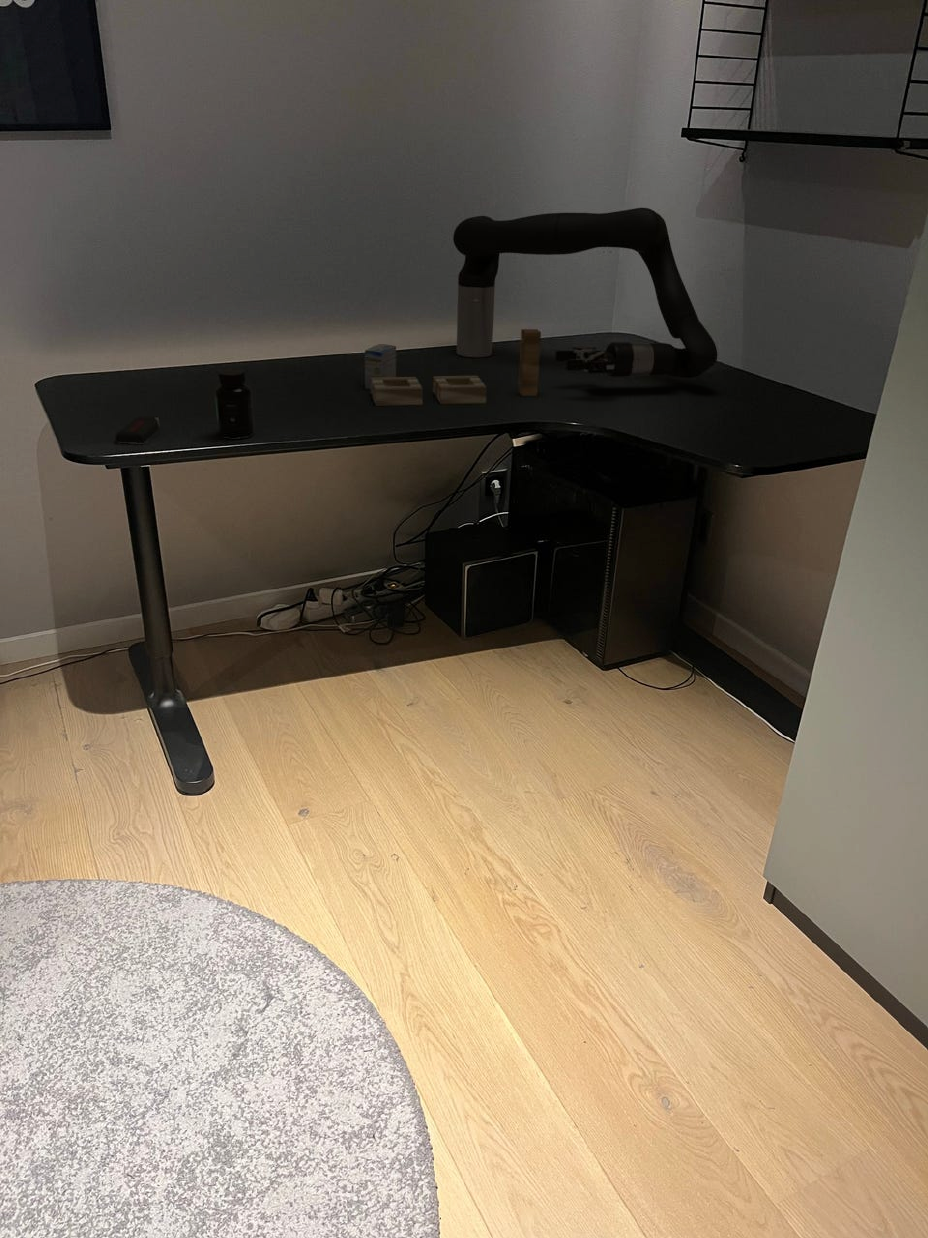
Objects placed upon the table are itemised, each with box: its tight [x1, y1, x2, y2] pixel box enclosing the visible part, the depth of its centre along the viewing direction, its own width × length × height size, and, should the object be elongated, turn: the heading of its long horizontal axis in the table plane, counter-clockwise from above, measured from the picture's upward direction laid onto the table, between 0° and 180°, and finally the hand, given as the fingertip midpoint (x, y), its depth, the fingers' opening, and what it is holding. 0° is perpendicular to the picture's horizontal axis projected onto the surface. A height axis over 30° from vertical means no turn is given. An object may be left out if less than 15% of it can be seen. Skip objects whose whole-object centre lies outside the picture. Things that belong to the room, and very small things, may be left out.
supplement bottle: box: [214, 368, 255, 438], centre depth 185 cm, size 7×7×12 cm
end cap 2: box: [432, 375, 488, 405], centre depth 215 cm, size 10×10×4 cm
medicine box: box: [364, 343, 397, 390], centre depth 221 cm, size 8×4×9 cm, turn 160°
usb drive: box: [115, 416, 160, 443], centre depth 185 cm, size 5×12×3 cm, turn 178°
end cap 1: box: [370, 376, 424, 407], centre depth 212 cm, size 10×10×4 cm
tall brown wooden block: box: [517, 328, 542, 397], centre depth 217 cm, size 4×4×14 cm
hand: (560, 360), depth 218 cm, fingers open, 8 cm apart
